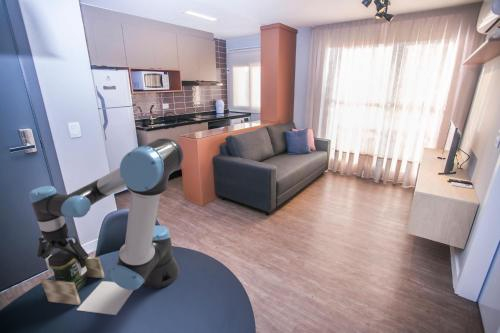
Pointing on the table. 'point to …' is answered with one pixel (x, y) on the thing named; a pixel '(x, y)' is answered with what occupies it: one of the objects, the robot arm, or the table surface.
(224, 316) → the table surface
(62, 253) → the coffee jar
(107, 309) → the mat
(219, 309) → the table surface
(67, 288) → the shelf bay
